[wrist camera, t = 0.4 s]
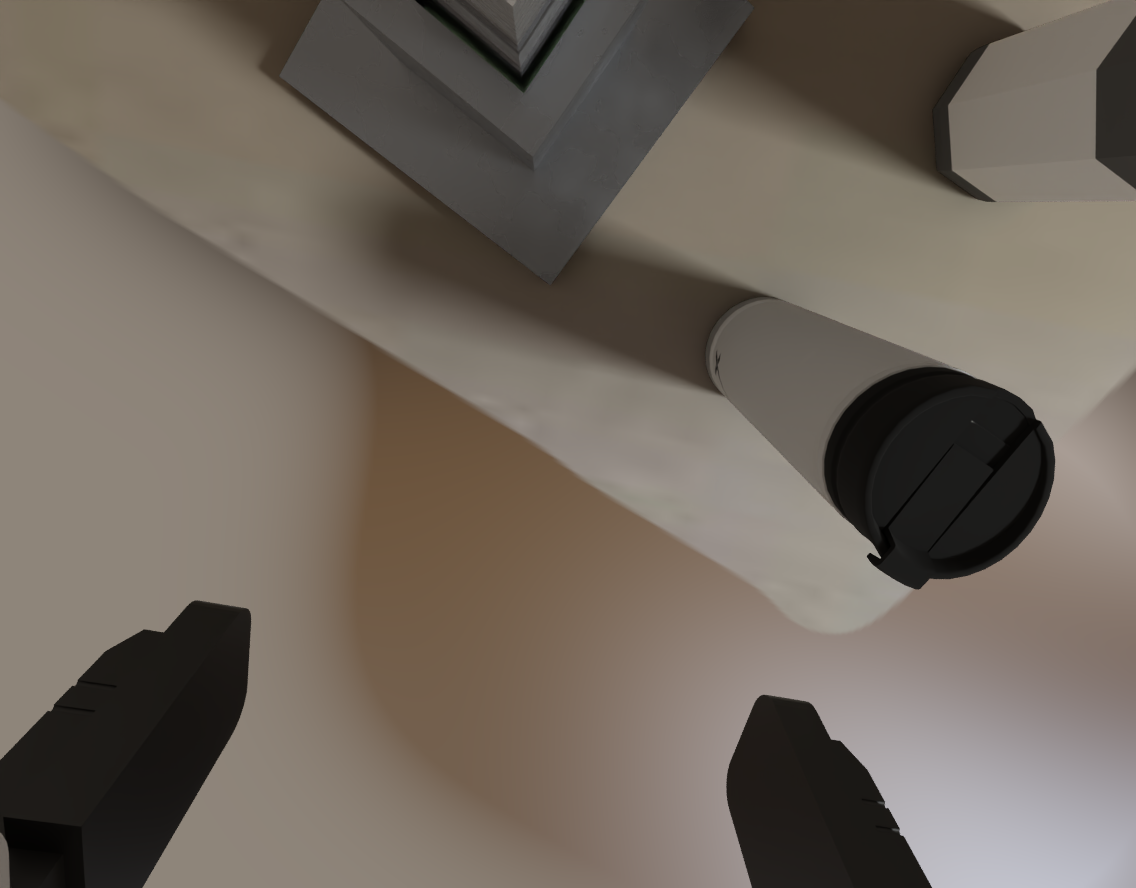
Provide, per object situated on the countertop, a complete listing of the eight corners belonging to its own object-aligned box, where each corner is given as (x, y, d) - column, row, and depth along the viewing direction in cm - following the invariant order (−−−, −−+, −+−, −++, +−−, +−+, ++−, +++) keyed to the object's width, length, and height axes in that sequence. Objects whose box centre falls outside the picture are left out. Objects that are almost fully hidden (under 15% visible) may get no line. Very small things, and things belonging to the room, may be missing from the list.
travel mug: (679, 373, 38) (817, 537, 19) (747, 275, 36) (972, 350, 18) (763, 425, 39) (967, 626, 21) (832, 333, 38) (1125, 461, 19)
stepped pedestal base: (475, -250, 28) (426, -609, 16) (745, 16, 32) (876, -103, 20) (290, 81, 32) (134, 4, 20) (549, 282, 36) (556, 323, 24)
